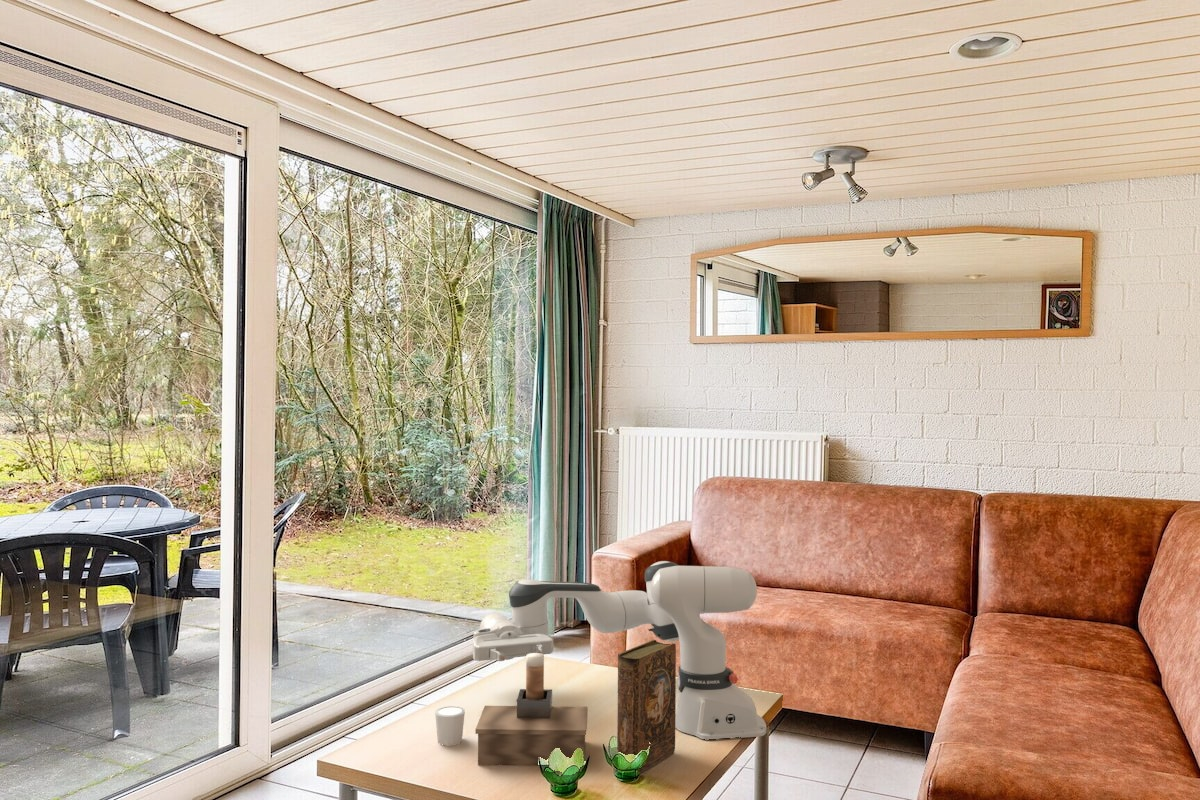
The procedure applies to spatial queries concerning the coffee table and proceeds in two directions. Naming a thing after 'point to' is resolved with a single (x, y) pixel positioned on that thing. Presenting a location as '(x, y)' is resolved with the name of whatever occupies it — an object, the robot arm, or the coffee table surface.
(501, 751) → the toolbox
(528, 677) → the white tipped wooden peg
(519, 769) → the coffee table surface
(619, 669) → the book
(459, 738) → the white cup
